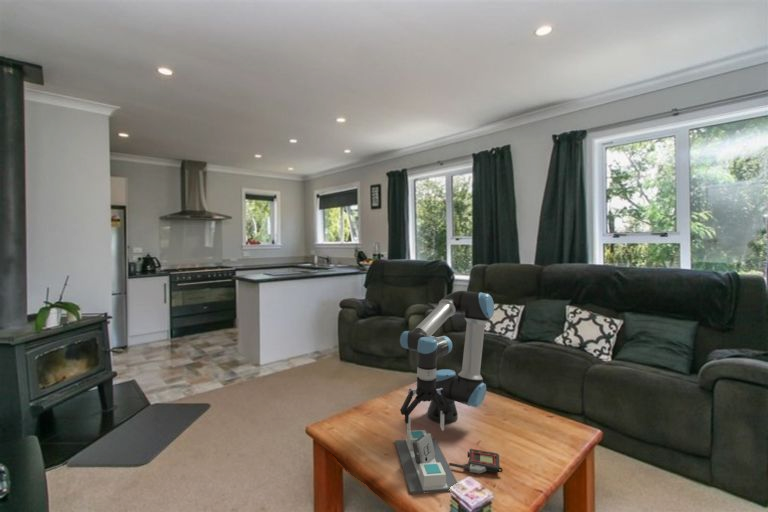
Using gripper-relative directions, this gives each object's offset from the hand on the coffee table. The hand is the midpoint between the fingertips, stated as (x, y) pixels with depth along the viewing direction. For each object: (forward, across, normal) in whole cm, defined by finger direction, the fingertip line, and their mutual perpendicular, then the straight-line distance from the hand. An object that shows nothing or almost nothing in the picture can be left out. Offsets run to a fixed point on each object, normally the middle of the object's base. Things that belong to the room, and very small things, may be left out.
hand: (425, 429), depth 140 cm
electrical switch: (+12, -1, 0) cm, 12 cm away
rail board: (+14, 0, 0) cm, 14 cm away
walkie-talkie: (+10, +19, -5) cm, 22 cm away
